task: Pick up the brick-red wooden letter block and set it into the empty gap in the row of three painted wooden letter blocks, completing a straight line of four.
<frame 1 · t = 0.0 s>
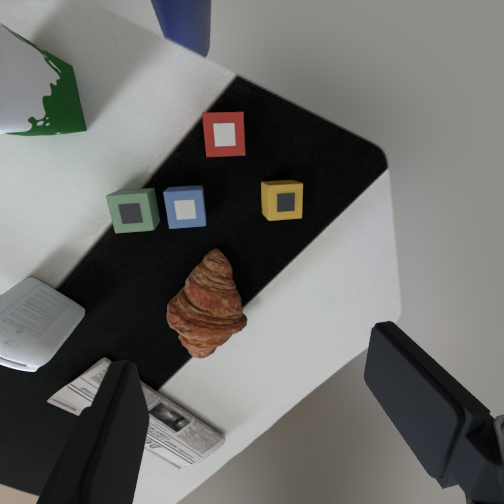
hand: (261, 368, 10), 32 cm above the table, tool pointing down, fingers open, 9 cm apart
red block: (222, 137, 36), on the table
mustard block: (276, 196, 41), on the table
pastry: (206, 301, 46), on the table
milk carton: (50, 99, 32), on the table
sage block: (140, 206, 38), on the table
photo printer: (54, 299, 41), on the table
blue block: (187, 202, 39), on the table
newspaper: (148, 413, 53), on the table
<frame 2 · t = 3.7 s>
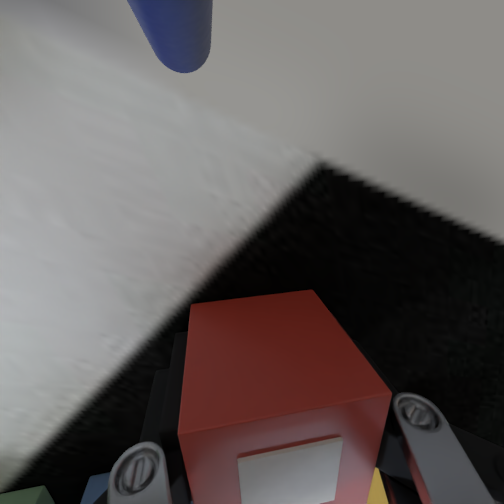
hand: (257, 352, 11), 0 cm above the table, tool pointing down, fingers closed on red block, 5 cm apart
red block: (255, 344, 11), on the table, touching gripper
mustard block: (388, 441, 16), on the table
blue block: (152, 492, 14), on the table
when the fingers open (0 cm above the table, at t = 11.3 s): red block stays where it is, on the table.
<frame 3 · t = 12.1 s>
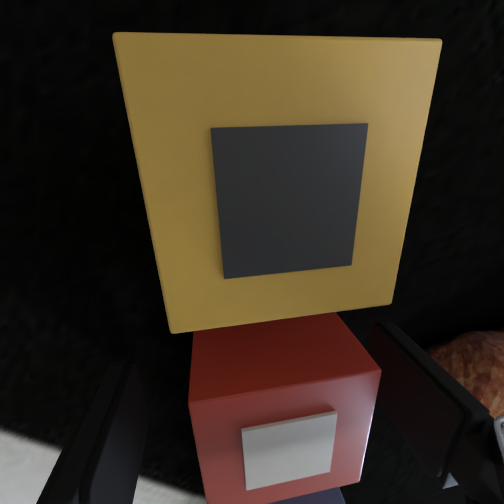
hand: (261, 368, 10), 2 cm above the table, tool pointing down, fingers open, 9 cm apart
red block: (257, 334, 12), on the table
mustard block: (248, 178, 9), on the table
blue block: (259, 433, 14), on the table
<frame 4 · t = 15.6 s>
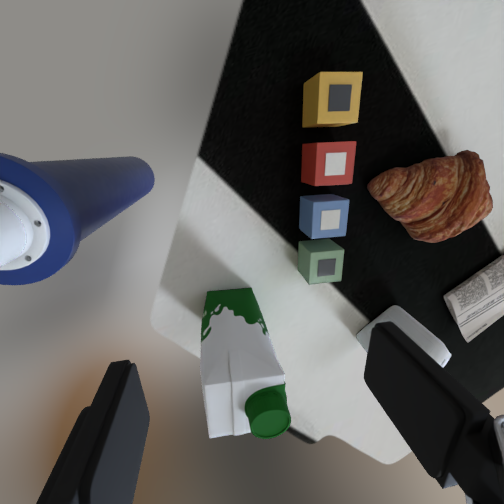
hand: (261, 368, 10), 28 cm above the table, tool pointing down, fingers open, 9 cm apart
red block: (318, 162, 36), on the table
mustard block: (321, 105, 33), on the table
pastry: (422, 196, 41), on the table
milk carton: (229, 306, 42), on the table
sage block: (313, 254, 41), on the table
photo printer: (377, 323, 49), on the table
blue block: (315, 211, 38), on the table
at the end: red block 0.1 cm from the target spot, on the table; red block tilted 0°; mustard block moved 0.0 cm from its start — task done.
